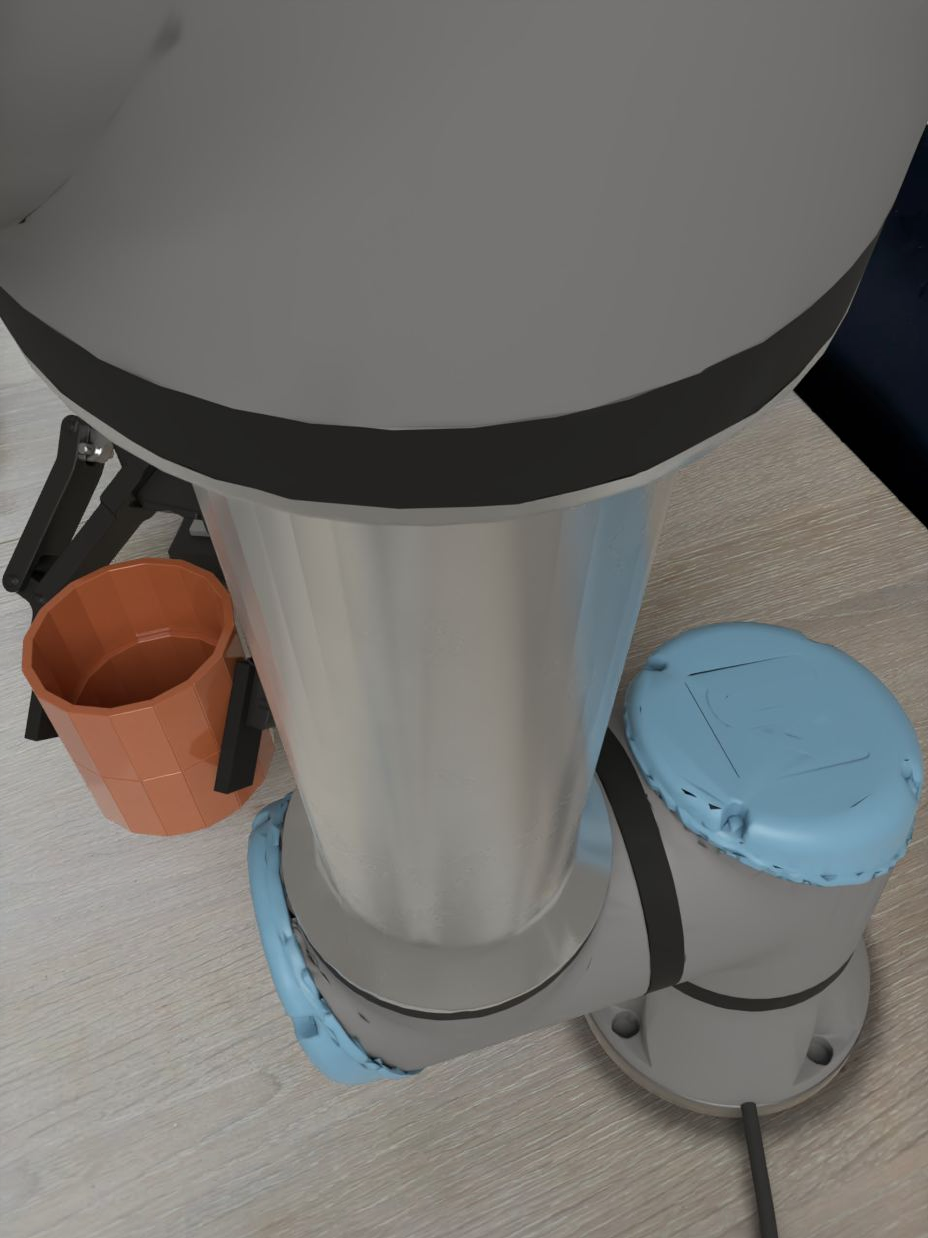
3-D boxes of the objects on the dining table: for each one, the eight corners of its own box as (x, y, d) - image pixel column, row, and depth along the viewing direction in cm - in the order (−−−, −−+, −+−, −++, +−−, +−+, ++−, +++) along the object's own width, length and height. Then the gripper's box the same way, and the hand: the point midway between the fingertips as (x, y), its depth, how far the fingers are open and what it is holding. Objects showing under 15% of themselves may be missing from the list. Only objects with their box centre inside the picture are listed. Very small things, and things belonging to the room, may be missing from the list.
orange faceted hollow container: (245, 852, 57) (194, 724, 49) (64, 831, 59) (-16, 704, 50) (296, 698, 64) (258, 564, 56) (132, 683, 65) (72, 551, 57)
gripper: (448, 379, 55) (368, 803, 57) (63, 319, 61) (2, 704, 63) (398, 347, 48) (309, 834, 50) (-32, 283, 54) (-98, 719, 56)
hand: (137, 761), depth 56 cm, fingers closed on orange faceted hollow container, 10 cm apart
